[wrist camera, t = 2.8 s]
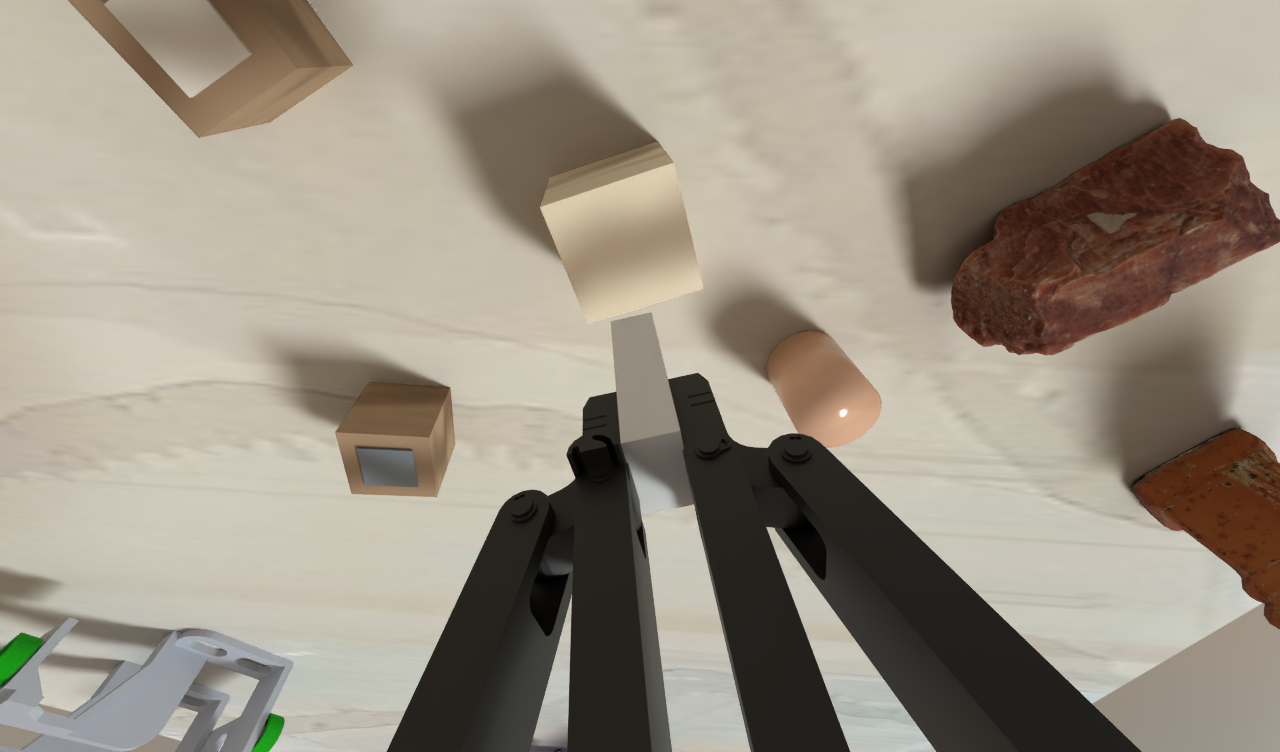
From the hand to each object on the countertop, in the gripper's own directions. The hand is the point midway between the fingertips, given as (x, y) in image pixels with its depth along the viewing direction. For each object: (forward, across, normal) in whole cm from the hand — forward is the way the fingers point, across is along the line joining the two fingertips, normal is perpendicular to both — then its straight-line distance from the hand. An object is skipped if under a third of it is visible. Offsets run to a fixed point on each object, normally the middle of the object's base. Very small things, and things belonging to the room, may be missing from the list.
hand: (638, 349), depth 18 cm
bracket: (+18, -63, -37) cm, 75 cm away
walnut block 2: (+17, -20, -12) cm, 28 cm away
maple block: (+17, 0, 0) cm, 17 cm away
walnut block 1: (+17, -16, +13) cm, 27 cm away
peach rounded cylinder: (+17, +12, -15) cm, 25 cm away
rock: (+17, +30, -7) cm, 35 cm away
